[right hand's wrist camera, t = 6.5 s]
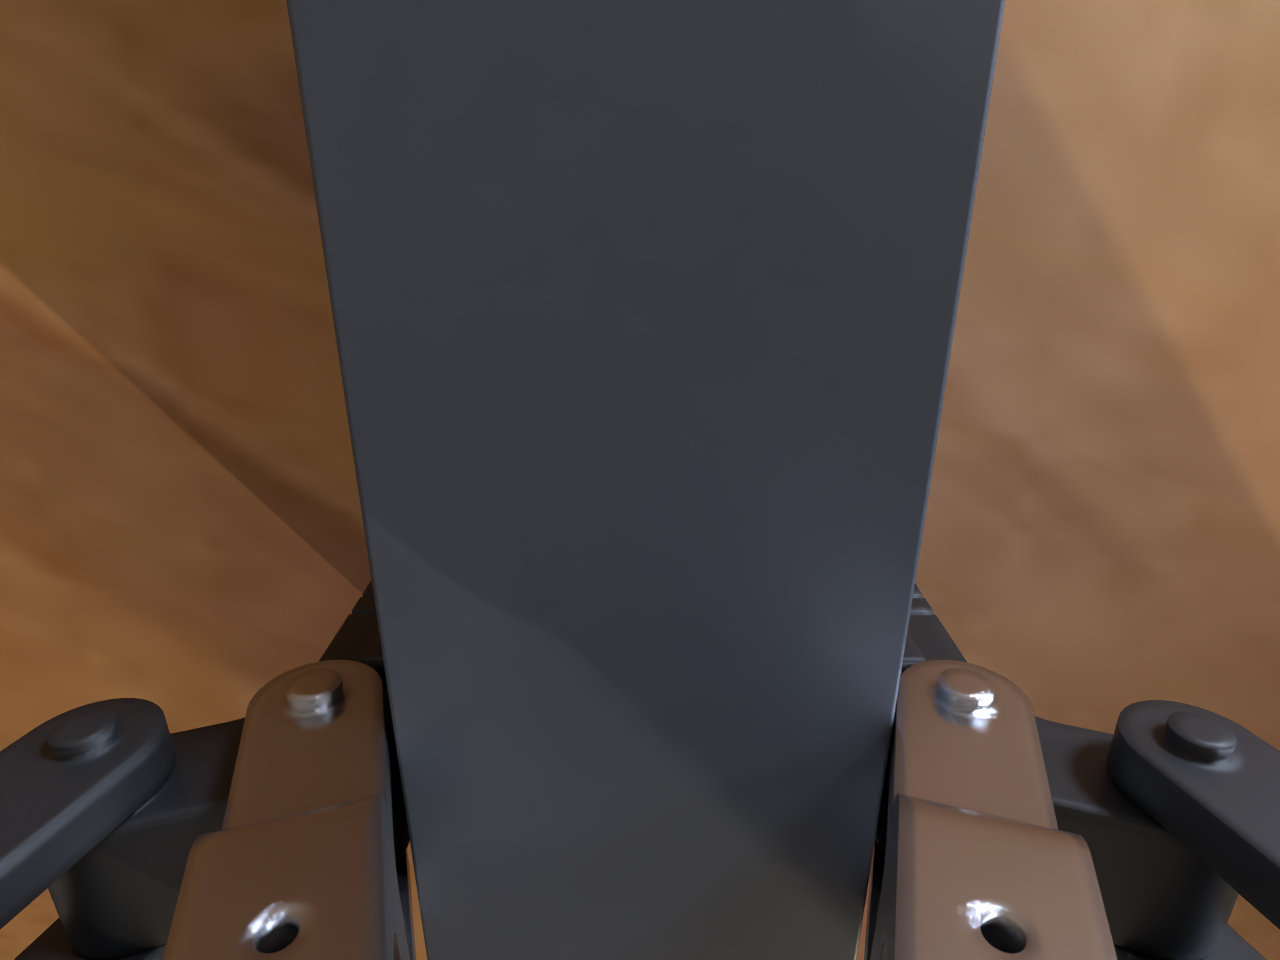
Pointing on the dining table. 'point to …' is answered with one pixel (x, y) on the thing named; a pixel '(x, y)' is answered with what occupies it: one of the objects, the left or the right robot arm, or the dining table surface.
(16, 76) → the dining table surface
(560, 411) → the bar
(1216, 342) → the dining table surface
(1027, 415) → the dining table surface
